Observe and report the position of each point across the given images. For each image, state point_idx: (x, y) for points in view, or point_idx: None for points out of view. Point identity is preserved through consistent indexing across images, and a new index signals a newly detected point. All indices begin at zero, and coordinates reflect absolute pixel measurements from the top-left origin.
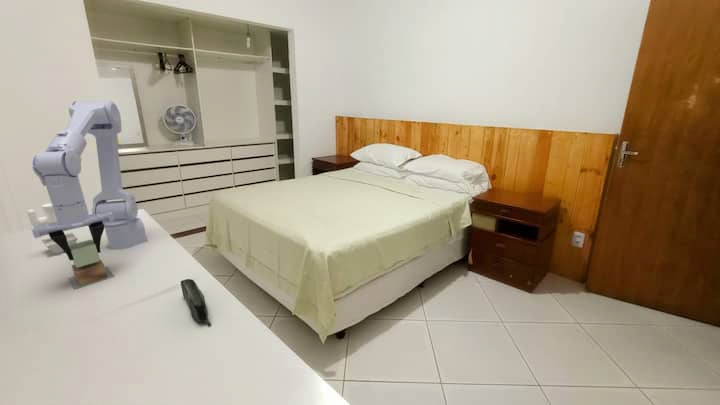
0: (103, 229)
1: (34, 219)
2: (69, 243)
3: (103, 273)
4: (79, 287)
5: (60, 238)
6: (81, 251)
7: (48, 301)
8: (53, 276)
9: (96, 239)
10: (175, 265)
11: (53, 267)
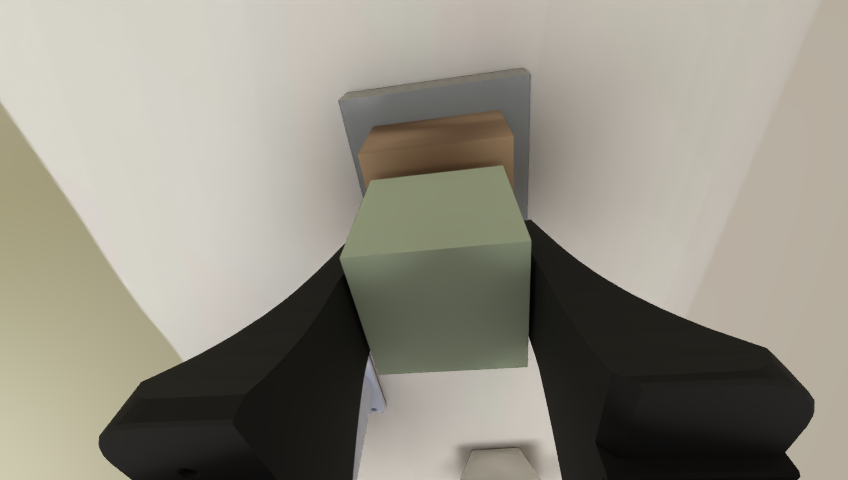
0: (156, 377)
1: None
2: (480, 474)
3: (383, 133)
4: (503, 84)
5: (684, 360)
6: (456, 227)
7: (626, 95)
8: None
9: (311, 302)
10: (58, 73)
11: (539, 379)
